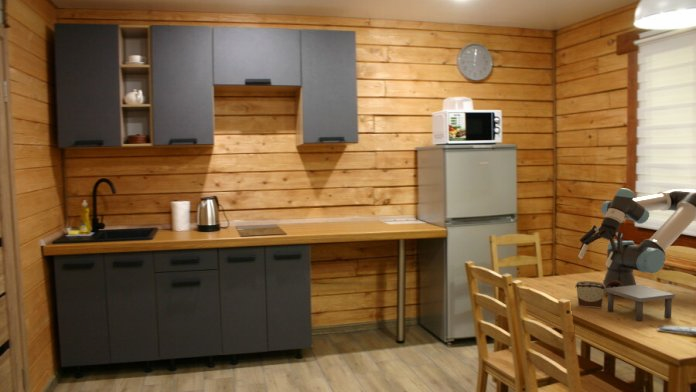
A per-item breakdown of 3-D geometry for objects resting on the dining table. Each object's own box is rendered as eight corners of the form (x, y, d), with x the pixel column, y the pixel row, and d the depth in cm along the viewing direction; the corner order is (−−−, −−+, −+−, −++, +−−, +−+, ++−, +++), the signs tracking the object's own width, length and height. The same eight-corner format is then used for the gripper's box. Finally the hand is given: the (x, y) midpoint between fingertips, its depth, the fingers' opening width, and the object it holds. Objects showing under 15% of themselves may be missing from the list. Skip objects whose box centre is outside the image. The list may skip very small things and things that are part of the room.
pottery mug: (633, 299, 266) (626, 285, 263) (613, 308, 268) (606, 293, 265) (623, 287, 277) (617, 273, 275) (603, 295, 279) (597, 281, 277)
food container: (604, 304, 256) (604, 282, 255) (605, 308, 250) (606, 285, 249) (574, 302, 260) (574, 280, 259) (574, 305, 254) (575, 283, 253)
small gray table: (638, 306, 253) (638, 284, 252) (673, 317, 236) (674, 294, 235) (604, 310, 247) (605, 288, 246) (639, 322, 230) (639, 298, 229)
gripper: (585, 210, 273) (565, 251, 271) (635, 223, 253) (615, 266, 250) (592, 217, 277) (573, 257, 275) (642, 230, 257) (622, 273, 255)
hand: (593, 261), depth 263 cm, fingers open, 13 cm apart
